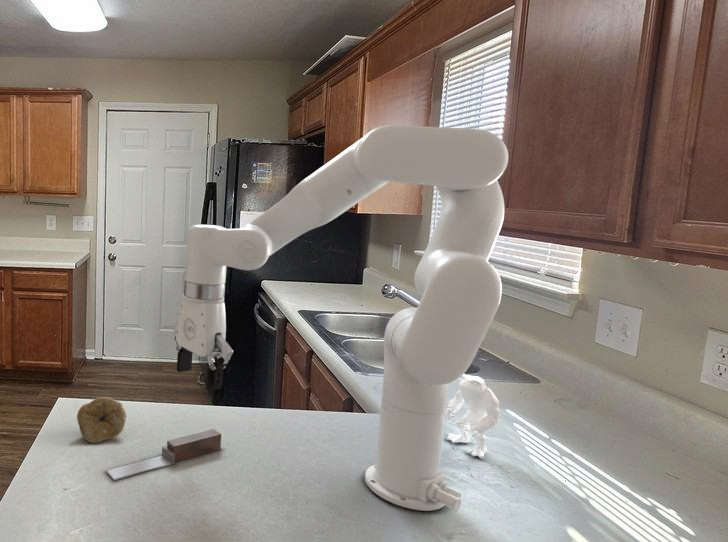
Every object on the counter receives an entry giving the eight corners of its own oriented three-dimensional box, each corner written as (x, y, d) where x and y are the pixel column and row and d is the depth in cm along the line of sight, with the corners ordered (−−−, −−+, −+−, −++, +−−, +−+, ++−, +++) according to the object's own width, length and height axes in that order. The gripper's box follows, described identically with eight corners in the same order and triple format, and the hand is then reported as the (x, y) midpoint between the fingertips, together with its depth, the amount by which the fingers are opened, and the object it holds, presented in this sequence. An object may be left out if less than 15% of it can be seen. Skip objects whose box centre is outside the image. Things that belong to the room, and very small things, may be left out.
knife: (211, 443, 99) (212, 428, 99) (221, 450, 97) (222, 434, 96) (106, 471, 88) (106, 454, 88) (114, 481, 85) (115, 463, 85)
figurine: (505, 461, 96) (513, 387, 95) (473, 462, 95) (482, 387, 94) (463, 434, 107) (470, 367, 105) (434, 435, 106) (441, 367, 105)
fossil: (71, 405, 101) (117, 389, 105) (71, 414, 104) (114, 398, 108) (86, 447, 96) (133, 429, 100) (85, 455, 99) (131, 436, 103)
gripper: (162, 283, 98) (158, 367, 100) (216, 302, 83) (209, 400, 85) (194, 281, 102) (188, 362, 104) (250, 299, 87) (243, 393, 89)
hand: (198, 379), depth 94 cm, fingers open, 9 cm apart
